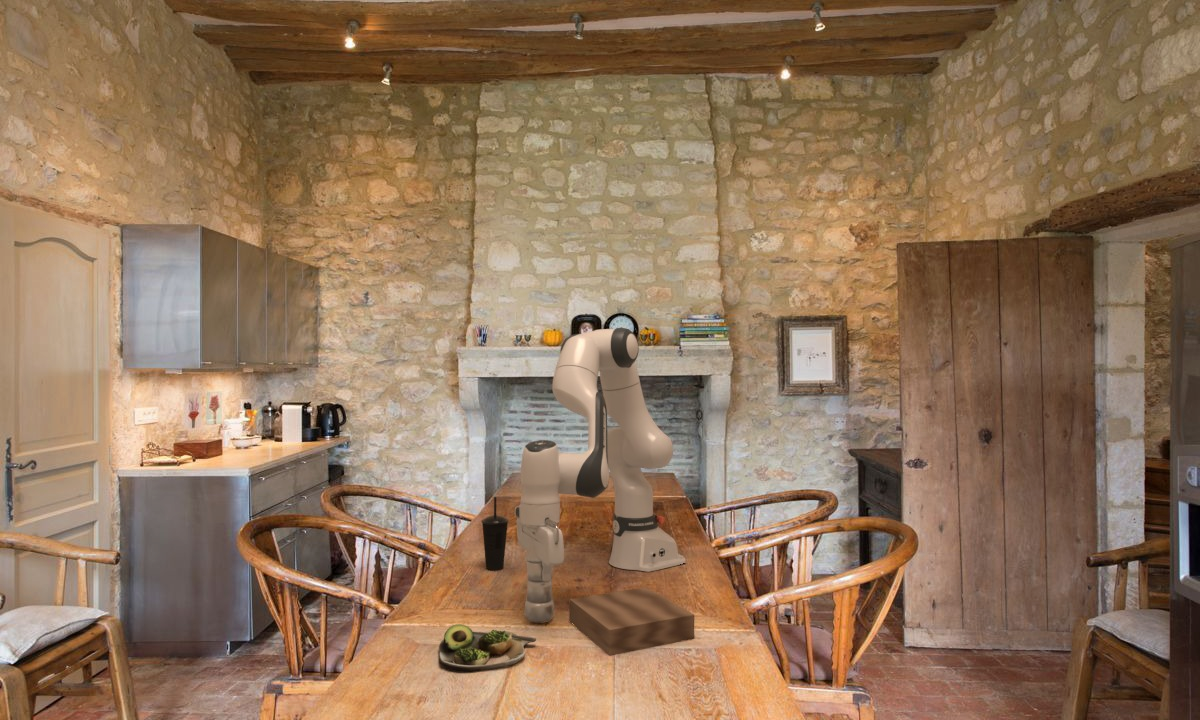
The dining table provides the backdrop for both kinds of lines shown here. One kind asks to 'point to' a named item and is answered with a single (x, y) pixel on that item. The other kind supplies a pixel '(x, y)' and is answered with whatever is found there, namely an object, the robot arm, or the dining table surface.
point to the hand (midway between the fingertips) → (539, 575)
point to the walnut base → (630, 620)
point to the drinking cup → (494, 540)
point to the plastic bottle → (537, 590)
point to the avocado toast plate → (479, 648)
